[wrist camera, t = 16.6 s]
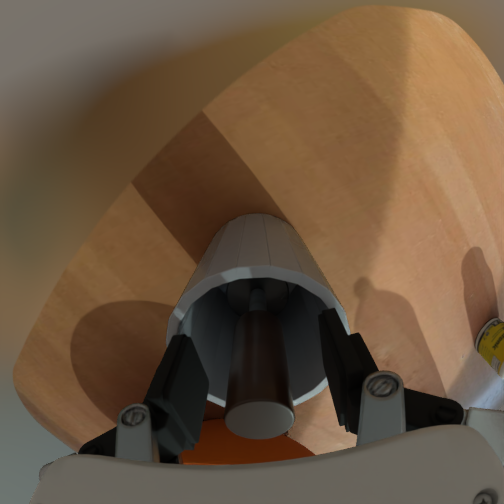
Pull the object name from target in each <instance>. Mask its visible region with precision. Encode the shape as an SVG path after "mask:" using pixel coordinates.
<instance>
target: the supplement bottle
mask: <svg viewBox="0 0 504 504" xmlns="http://www.w3.org/2000/svg"><path fill="white" fill-rule="evenodd" d="M475 347H476V350H477V352H478V353H479V354H480V355H481V356H482V357H483V358H484V359H485V360H486V361H487V363H488V364H489V365H490V366H491V367H492V368H493V369H494V370H495V371H496V372H497V374H498V375H499V376H500V377H501V378H502V379H504V322H503V321H502V320H500V319H498V318H494V319H492V320H490V321H489V322H488V323H486V324H485V326H484V327H483V328H482V329H481V331H480V332H479V334H478V336H477V339H476V344H475Z"/></svg>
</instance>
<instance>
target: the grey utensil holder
mask: <svg viewBox="0 0 504 504" xmlns="http://www.w3.org/2000/svg"><path fill="white" fill-rule="evenodd" d="M265 277H270V278H274V279H278V280H282V281H287V284H288V287H289V298H288V302H287V304H286V306H285V308H284V309H283V310H282V311H281V312H280V313H279V314H278V315H277V316H276V317H277V318H278V319H279V320H280V322H281V325H282V330H283V337H284V343H285V350H286V357H287V363H288V370H289V377H290V384H291V391H292V398H293V405H294V406H295V405H298V404H300V403H302V402H304V401H306V400H308V399H310V398H311V397H313V396H315V395H317V394H318V393H320V392H321V391H322V390H323V389H324V388H325V387H326V386H327V385H328V381H327V377H326V374H325V370H324V366H323V359H322V349H321V340H320V331H319V322H318V315H319V314H322V310H326V309H330V308H335V309H336V311H337V313H338V315H339V317H340V319H341V321H342V323H343V325H344V327H345V329H346V332H347V334H348V335H350V329H349V325H348V321H347V317H346V313H345V310H344V308H343V306H342V305H341V303H340V301H339V300H338V298H337V296H336V294H335V293H334V291H333V289H332V288H331V286H330V284H329V282H328V281H327V279H326V277H325V276H324V274H323V272H322V271H321V269H320V267H319V266H318V264H317V262H316V261H315V259H314V258H313V256H312V254H311V253H310V251H309V249H308V248H307V246H306V245H305V243H304V241H303V240H302V239H301V237H300V236H299V234H298V233H297V232H296V230H295V229H294V228H293V227H292V226H290V225H289V224H288V223H287V222H285V221H283V220H282V219H280V218H277V217H275V216H272V215H268V214H261V213H252V214H246V215H242V216H239V217H237V218H234V219H232V220H231V221H229V222H227V223H226V224H225V225H224V226H222V227H221V228H220V230H219V231H218V232H217V233H216V234H215V236H214V237H213V239H212V241H211V243H210V244H209V246H208V248H207V249H206V251H205V253H204V255H203V256H202V258H201V260H200V262H199V264H198V265H197V267H196V269H195V271H194V273H193V274H192V276H191V278H190V280H189V282H188V284H187V285H186V287H185V289H184V291H183V293H182V295H181V297H180V298H179V300H178V302H177V304H176V306H175V308H174V310H173V312H172V313H171V315H170V317H169V320H168V327H167V335H166V345H167V347H168V345H169V343H170V340H171V338H172V336H173V335H179V334H186V335H187V337H189V336H190V337H191V338H192V341H193V343H194V346H195V348H196V351H197V353H198V356H199V358H200V360H201V363H202V365H203V368H204V370H205V372H206V375H207V377H208V379H209V391H208V396H207V400H209V401H211V402H213V403H216V404H218V405H220V406H223V407H225V404H226V395H227V386H228V378H229V369H230V361H231V352H232V344H233V336H234V328H235V324H236V322H237V320H238V319H239V318H240V316H238V315H237V314H236V313H235V312H234V311H233V310H232V309H231V307H230V306H229V304H228V301H227V297H226V289H227V285H228V282H231V281H234V280H237V279H244V278H265Z"/></svg>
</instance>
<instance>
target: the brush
mask: <svg viewBox="0 0 504 504" xmlns="http://www.w3.org/2000/svg"><path fill="white" fill-rule="evenodd" d="M226 297H227V301H228V304H229V306H230V307H231V309H232V310H233V311H234V312H235V313H236V314H237V315H238V316H240V318H239V319H238V320H237V322H236V324H235V328H234V336H233V344H232V352H231V361H230V369H229V378H228V386H227V395H226V404H225V412H224V422H225V424H226V426H227V428H228V429H229V430H230V431H232V432H233V433H235V434H236V435H239V436H241V437H244V438H249V439H269V438H273V437H277V436H279V435H281V434H283V433H285V432H286V431H288V430H289V429H290V428H291V427H292V425H293V423H294V421H295V412H294V405H293V398H292V391H291V384H290V377H289V370H288V363H287V357H286V350H285V343H284V337H283V330H282V325H281V322H280V320H279V319H278V318H277V317H276V316H277V315H278V314H279V313H280V312H281V311H282V310H283V309H284V308H285V306H286V304H287V302H288V298H289V287H288V284H287V281H282V280H278V279H274V278H270V277H265V278H244V279H237V280H234V281H231V282H228V285H227V289H226Z"/></svg>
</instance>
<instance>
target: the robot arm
mask: <svg viewBox="0 0 504 504" xmlns="http://www.w3.org/2000/svg"><path fill="white" fill-rule="evenodd" d="M318 322H319V331H320V340H321V349H322V359H323V366H324V370H325V374H326V377H327V381H328V385H329V388H330V392H331V395H332V399H333V403H334V407H335V410H336V414H337V418H338V422H339V425H340V426H343V425H345V429H346V432H349V431H350V432H351V433H353V434H356V435H357V443H356V447H352V448H347V449H343V450H339V451H335V452H330V453H325V454H320V455H315V456H309V457H303V458H297V459H290V460H283V461H274V462H265V463H253V464H237V465H184V464H183V459H182V454H181V452H183V451H184V450H194V447H195V443H198V442H199V438H200V433H201V428H202V422H203V417H204V412H205V407H206V401H207V396H208V391H209V379H208V377H207V375H206V372H205V370H204V368H203V365H202V363H201V360H200V358H199V356H198V353H197V351H196V348H195V346H194V343H193V341H192V338H191V337H190V336H189V337H187V335H186V334H179V335H173V336H172V338H171V340H170V343H169V345H168V347H167V349H166V352H165V354H164V356H163V358H162V361H161V363H160V365H159V366H158V368H157V370H156V373H155V375H154V377H153V380H152V382H151V384H150V387H149V389H148V391H147V394H146V396H145V398H144V401H143V403H134V404H131V405H128V406H126V407H125V408H124V409H123V410H121V412H120V413H119V415H118V419H117V426H116V427H115V428H113V429H111V430H109V431H107V432H106V433H104V434H102V435H100V436H98V437H96V438H94V439H93V440H91V441H89V442H87V443H85V444H84V445H83V446H82V447H81V448H80V450H79V452H78V455H77V454H76V453H73V454H71V455H68V456H65V457H61V458H58V459H57V460H55V461H53V462H51V463H48V464H46V465H44V466H43V467H42V468H41V470H40V472H39V479H40V482H39V484H38V486H37V488H36V490H35V492H34V494H33V496H32V498H31V500H30V503H29V504H504V411H501V410H491V409H482V408H474V407H469V410H466V409H463V408H462V406H461V405H460V404H459V403H458V402H456V401H454V400H451V399H447V398H442V397H438V396H434V395H430V394H426V393H422V392H418V391H414V390H411V389H407V388H404V387H403V381H402V379H401V377H400V376H399V375H398V374H396V373H394V372H391V371H379V370H378V368H377V366H376V364H375V362H374V360H373V358H372V356H371V354H370V352H369V350H368V348H367V346H366V344H365V343H364V341H363V339H362V337H361V335H360V334H359V333H354V334H350V335H348V334H347V332H346V329H345V327H344V325H343V323H342V321H341V319H340V317H339V315H338V313H337V311H336V309H335V308H330V309H326V310H322V314H319V315H318Z"/></svg>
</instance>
